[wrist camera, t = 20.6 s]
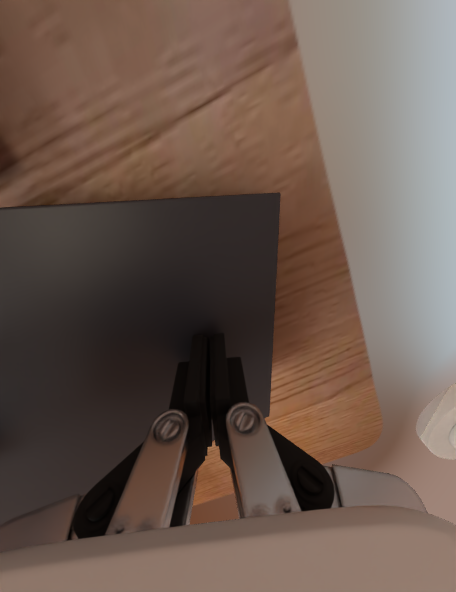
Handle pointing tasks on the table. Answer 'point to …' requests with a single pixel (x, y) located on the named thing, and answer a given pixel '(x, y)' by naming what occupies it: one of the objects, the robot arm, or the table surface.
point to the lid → (120, 326)
